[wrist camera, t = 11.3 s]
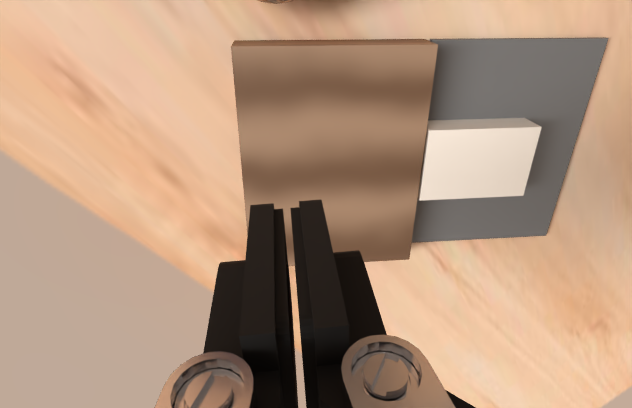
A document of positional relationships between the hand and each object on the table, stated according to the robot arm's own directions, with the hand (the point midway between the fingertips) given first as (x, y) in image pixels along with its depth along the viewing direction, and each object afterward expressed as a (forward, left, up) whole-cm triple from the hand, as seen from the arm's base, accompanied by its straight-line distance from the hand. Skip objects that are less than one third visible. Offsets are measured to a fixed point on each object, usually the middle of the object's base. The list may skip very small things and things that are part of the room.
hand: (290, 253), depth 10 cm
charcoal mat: (+7, +19, -24) cm, 31 cm away
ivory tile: (+7, +16, -23) cm, 29 cm away
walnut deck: (+7, +4, -24) cm, 25 cm away
